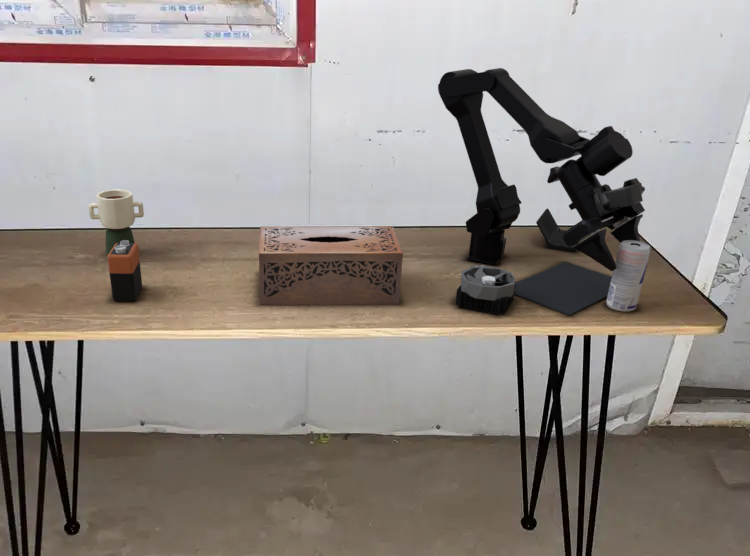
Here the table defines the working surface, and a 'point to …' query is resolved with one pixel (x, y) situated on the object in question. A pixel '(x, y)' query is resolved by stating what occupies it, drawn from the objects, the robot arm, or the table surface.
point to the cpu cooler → (486, 289)
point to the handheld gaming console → (552, 232)
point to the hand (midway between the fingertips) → (627, 263)
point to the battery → (125, 271)
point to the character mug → (116, 215)
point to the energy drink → (628, 275)
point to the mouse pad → (564, 288)
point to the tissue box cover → (329, 265)
